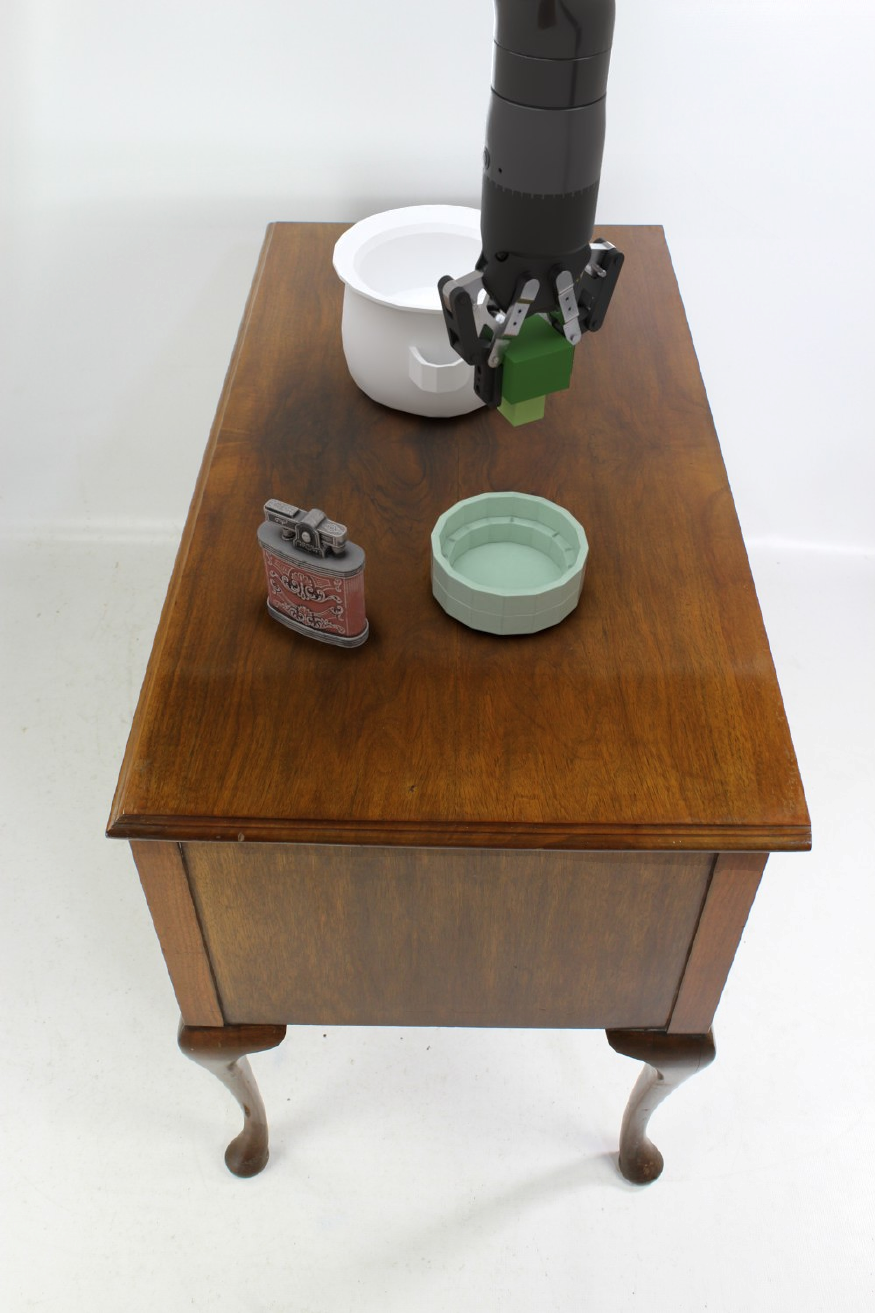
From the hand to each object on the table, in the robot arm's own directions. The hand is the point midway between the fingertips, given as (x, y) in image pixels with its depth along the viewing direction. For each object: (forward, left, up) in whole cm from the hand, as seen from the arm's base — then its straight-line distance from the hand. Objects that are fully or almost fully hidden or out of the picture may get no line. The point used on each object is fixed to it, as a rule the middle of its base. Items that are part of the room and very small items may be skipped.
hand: (522, 391), depth 80 cm
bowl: (+6, +9, -10) cm, 15 cm away
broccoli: (0, 0, -2) cm, 2 cm away
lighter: (+20, +6, -10) cm, 23 cm away
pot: (-2, -18, -10) cm, 21 cm away
